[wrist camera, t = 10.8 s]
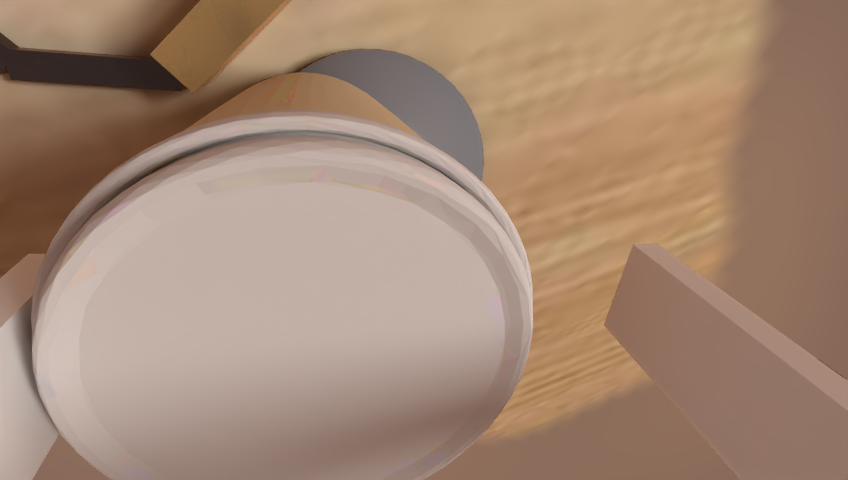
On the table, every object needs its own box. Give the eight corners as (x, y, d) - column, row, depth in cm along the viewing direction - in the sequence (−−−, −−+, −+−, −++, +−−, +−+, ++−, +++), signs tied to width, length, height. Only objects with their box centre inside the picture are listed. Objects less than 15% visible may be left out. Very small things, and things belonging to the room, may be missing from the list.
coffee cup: (370, 285, 22) (424, 538, 12) (163, 226, 18) (-27, 520, 8) (457, 111, 19) (638, 245, 8) (228, -3, 15) (53, -12, 5)
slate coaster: (263, 266, 21) (261, 272, 20) (245, 36, 16) (242, 37, 16) (463, 263, 23) (466, 269, 23) (496, 59, 18) (501, 61, 18)
